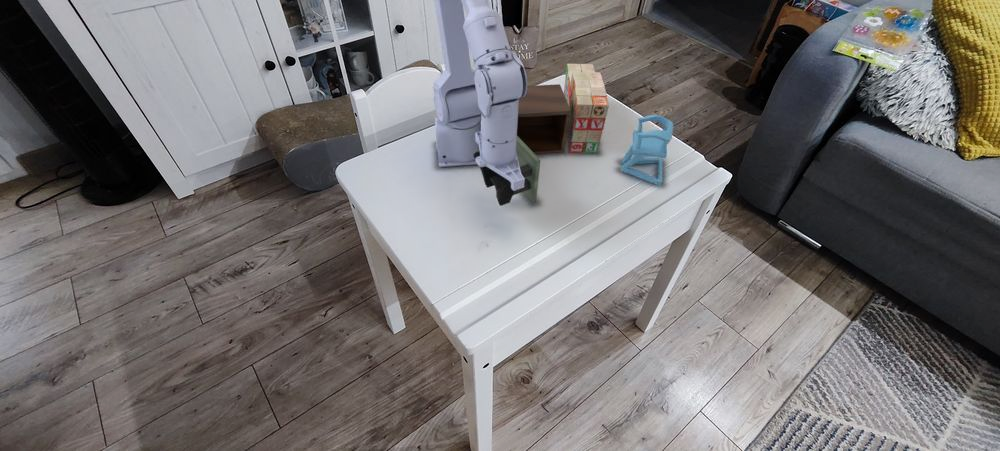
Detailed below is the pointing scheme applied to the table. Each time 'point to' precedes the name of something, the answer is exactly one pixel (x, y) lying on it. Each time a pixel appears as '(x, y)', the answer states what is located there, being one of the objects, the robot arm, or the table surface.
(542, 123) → the cupboard
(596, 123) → the stack of blocks
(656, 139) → the chair
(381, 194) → the table surface
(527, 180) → the cupboard door
